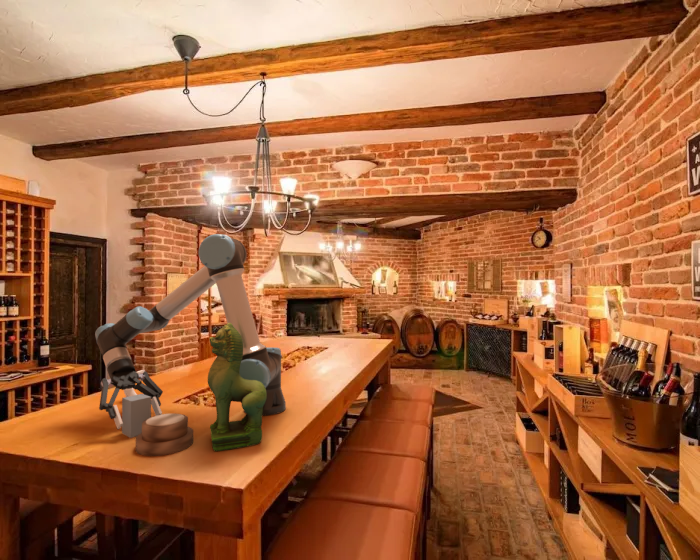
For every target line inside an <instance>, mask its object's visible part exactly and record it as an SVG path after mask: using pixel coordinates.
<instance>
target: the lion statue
mask: <svg viewBox="0 0 700 560" xmlns="http://www.w3.org/2000/svg"><path fill="white" fill-rule="evenodd" d="M209 343H210V346H211V347H212V348H211V352H212V354H214V355H216V357H215V359H214V360H213V362H212V364H211V365H210V368H209V370H208V373H207V374H208V375H207V385H208V387H209V390H211V392H212V393H213V395H214V399H215V409H216V410H215V411H216V420H215V421H214V422H213V423H211V424H210V427H209V429H210V437H211V439H210V440H211V444H212V445H211V446H212V450H213V451H214V452H220V451H223V452H224V451H230V450H234V449H239V448H240V449H242V448H247V447H248V448H249V447H251V446H255V445H258V444H260V443H261V442H262V438H263V430H262V423H263V416H262V412H263V406H264V404H265V401H266V397H267V392H266V388H265V386H264V385H263V384H262V383H261V382H260V381H257V380H246V379H243V378H242V377H241V376H240V373H239V371H240V364H241V361H242V357H243V340H242V337H241V335H240V333H239V332H238V331H237V330H236V329H235V328H234V326H233V325H232V324H231V323H228V324H227V323H226V324H224V325H223V326H222V327H221V328H219V330H217V332H216V333H215V336H210V337H209ZM231 402H235V403H236V402H237V403H241V407H242V410H243V412H244V411H245V412H246V413H245V412H244V413H245V415H244V417H243V418H242V419H241V420H234V421H233V420H232V421H230V408H231Z"/></svg>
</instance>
